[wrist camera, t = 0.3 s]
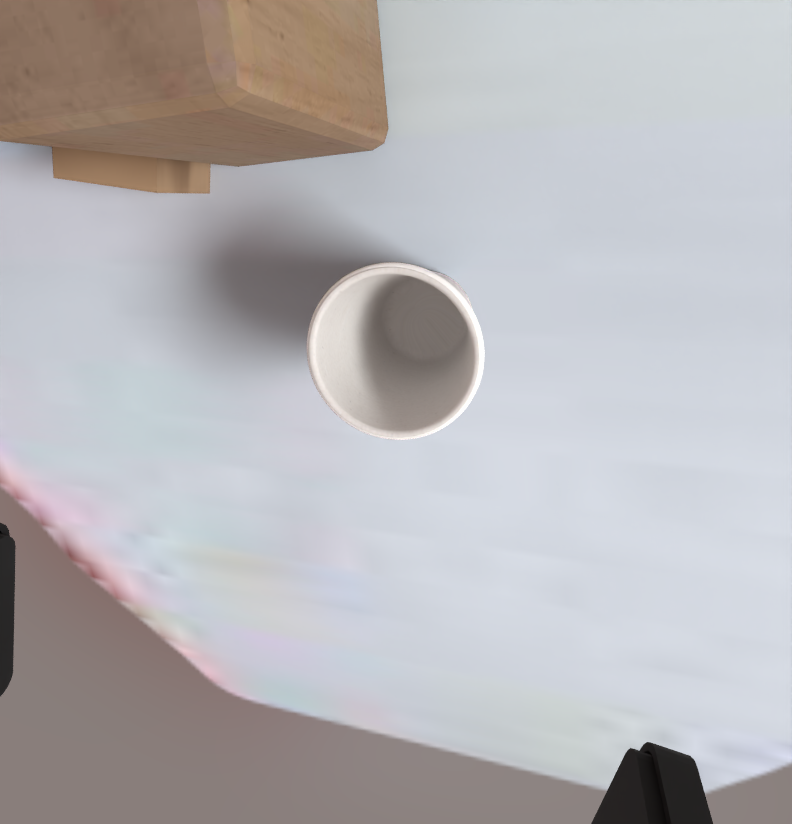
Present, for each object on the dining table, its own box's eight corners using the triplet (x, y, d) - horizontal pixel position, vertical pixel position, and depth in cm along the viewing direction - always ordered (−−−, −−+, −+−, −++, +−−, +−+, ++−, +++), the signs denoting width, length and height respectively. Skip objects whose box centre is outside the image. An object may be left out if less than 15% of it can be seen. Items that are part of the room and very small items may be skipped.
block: (229, 169, 38) (-54, 141, 20) (199, -24, 36) (-169, -269, 17) (393, 149, 36) (247, 98, 18) (375, -59, 33) (175, -383, 15)
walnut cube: (118, 73, 38) (47, 52, 33) (213, 84, 37) (156, 64, 32) (120, 180, 40) (53, 177, 35) (210, 193, 39) (156, 192, 34)
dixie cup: (435, 216, 37) (402, 222, 28) (524, 329, 38) (522, 372, 29) (331, 307, 40) (270, 340, 31) (417, 410, 41) (382, 473, 32)
